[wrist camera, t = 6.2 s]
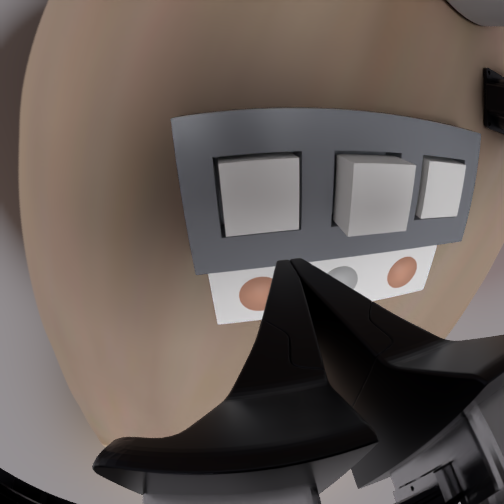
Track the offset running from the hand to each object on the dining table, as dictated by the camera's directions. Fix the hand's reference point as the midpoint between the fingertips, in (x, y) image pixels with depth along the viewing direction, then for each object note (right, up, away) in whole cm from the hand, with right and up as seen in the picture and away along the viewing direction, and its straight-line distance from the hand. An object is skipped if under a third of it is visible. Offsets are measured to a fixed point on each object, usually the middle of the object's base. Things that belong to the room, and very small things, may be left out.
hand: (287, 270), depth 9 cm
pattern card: (+6, -2, +14) cm, 16 cm away
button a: (-1, +5, +8) cm, 10 cm away
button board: (+6, +6, +9) cm, 13 cm away
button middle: (+6, +5, +7) cm, 11 cm away
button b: (+13, +6, +9) cm, 17 cm away
